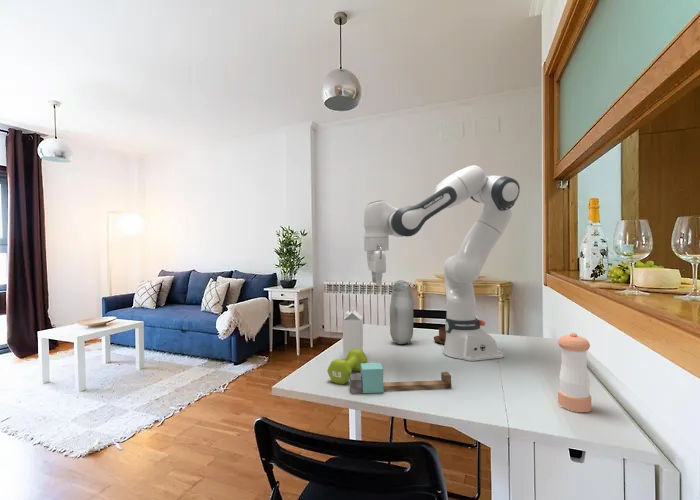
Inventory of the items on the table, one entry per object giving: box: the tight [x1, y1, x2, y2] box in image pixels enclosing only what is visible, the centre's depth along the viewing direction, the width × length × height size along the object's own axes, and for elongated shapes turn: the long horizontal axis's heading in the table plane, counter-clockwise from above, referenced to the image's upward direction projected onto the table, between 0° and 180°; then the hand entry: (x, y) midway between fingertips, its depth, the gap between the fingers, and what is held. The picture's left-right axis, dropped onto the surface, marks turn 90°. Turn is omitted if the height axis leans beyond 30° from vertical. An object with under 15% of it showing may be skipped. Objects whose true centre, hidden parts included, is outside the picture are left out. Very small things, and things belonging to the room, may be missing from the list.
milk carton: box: [342, 306, 364, 360], centre depth 135 cm, size 7×7×19 cm
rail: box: [349, 371, 452, 395], centre depth 103 cm, size 30×5×4 cm, turn 94°
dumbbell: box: [327, 349, 368, 385], centre depth 115 cm, size 16×8×7 cm, turn 153°
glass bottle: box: [389, 279, 414, 345], centre depth 154 cm, size 10×10×28 cm
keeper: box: [360, 362, 384, 394], centre depth 103 cm, size 6×6×7 cm
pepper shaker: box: [557, 332, 592, 413], centre depth 91 cm, size 7×7×19 cm
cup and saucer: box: [433, 326, 446, 345], centre depth 155 cm, size 12×12×6 cm
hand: (376, 284), depth 125 cm, fingers open, 8 cm apart
